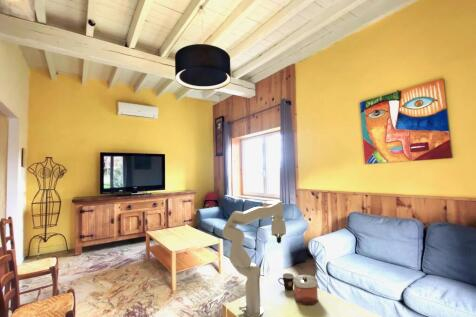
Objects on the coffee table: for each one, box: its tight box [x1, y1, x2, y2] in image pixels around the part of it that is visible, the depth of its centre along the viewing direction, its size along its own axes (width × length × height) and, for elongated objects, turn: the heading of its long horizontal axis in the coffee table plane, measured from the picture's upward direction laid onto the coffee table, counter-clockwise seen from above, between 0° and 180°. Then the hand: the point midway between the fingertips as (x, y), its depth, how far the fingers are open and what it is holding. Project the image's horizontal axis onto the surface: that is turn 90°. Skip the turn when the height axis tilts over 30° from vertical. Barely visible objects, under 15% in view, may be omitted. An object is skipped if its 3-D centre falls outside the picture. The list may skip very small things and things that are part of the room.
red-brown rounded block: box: [293, 284, 319, 306], centre depth 170 cm, size 16×16×11 cm
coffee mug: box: [278, 272, 295, 292], centre depth 186 cm, size 12×9×10 cm
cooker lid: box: [293, 274, 319, 288], centre depth 171 cm, size 17×17×3 cm
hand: (279, 242), depth 176 cm, fingers closed
